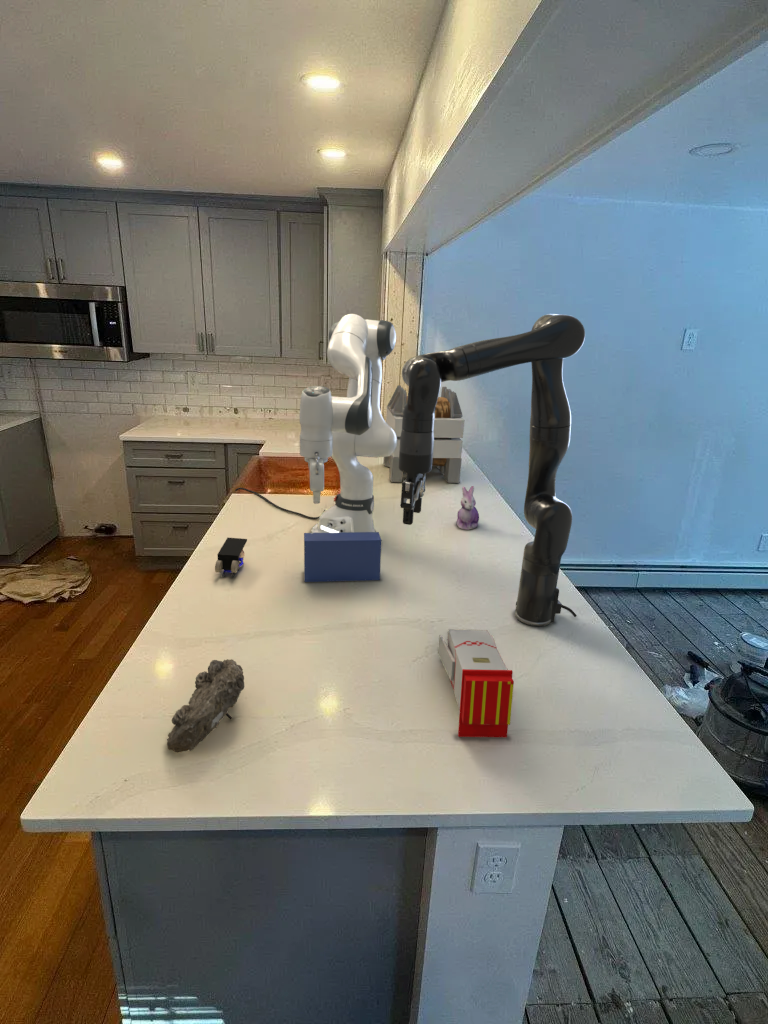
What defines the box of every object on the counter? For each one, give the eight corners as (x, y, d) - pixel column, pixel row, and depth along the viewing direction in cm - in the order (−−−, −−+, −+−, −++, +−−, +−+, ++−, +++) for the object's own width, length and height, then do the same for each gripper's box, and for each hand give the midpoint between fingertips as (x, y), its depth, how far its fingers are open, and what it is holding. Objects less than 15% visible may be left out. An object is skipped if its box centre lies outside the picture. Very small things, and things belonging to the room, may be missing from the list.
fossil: (192, 660, 117) (244, 628, 112) (224, 691, 120) (276, 661, 115) (142, 746, 98) (202, 712, 93) (182, 779, 101) (242, 748, 96)
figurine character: (238, 584, 162) (249, 557, 175) (236, 562, 158) (247, 536, 172) (215, 584, 161) (227, 556, 175) (212, 561, 158) (225, 535, 171)
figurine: (464, 532, 204) (468, 492, 199) (449, 522, 212) (452, 484, 207) (486, 528, 208) (490, 489, 203) (469, 519, 216) (473, 481, 211)
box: (304, 582, 162) (304, 541, 158) (304, 572, 168) (304, 532, 164) (379, 580, 165) (381, 540, 161) (377, 570, 171) (378, 531, 167)
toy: (488, 613, 130) (523, 677, 101) (484, 667, 133) (517, 744, 104) (435, 612, 130) (455, 676, 101) (432, 666, 133) (451, 743, 103)
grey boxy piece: (382, 463, 289) (386, 382, 275) (445, 464, 293) (451, 384, 279) (390, 482, 257) (394, 392, 243) (460, 483, 261) (468, 394, 247)
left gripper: (329, 458, 143) (329, 509, 148) (326, 440, 162) (326, 486, 167) (304, 458, 142) (304, 509, 147) (304, 440, 161) (304, 486, 166)
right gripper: (426, 458, 119) (421, 530, 124) (438, 444, 132) (433, 510, 137) (391, 455, 121) (388, 526, 126) (407, 441, 134) (403, 506, 139)
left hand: (316, 497), depth 157 cm, fingers open, 8 cm apart
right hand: (412, 517), depth 132 cm, fingers open, 8 cm apart
